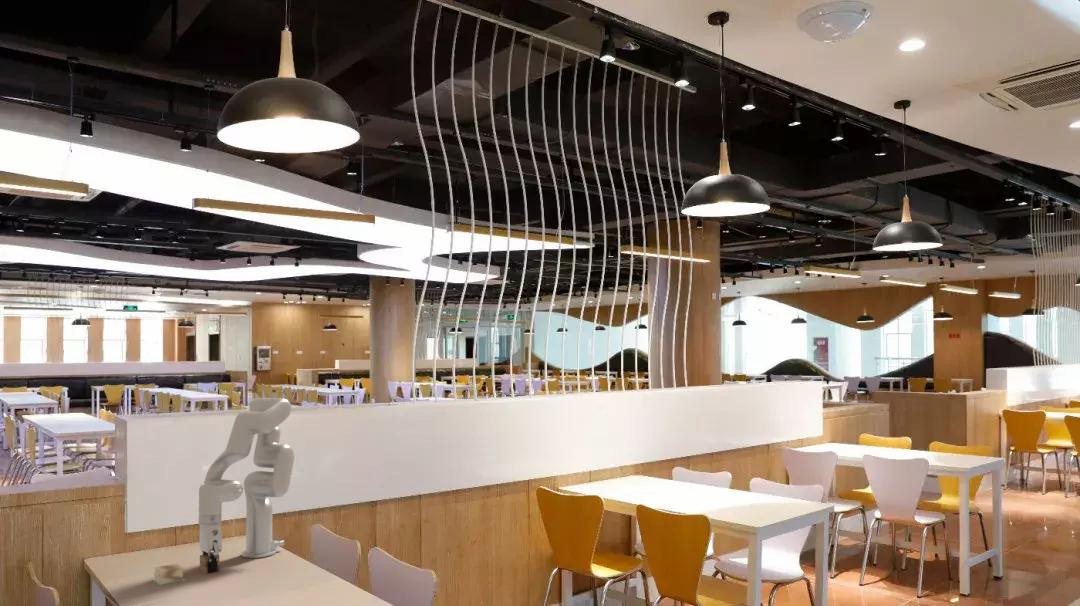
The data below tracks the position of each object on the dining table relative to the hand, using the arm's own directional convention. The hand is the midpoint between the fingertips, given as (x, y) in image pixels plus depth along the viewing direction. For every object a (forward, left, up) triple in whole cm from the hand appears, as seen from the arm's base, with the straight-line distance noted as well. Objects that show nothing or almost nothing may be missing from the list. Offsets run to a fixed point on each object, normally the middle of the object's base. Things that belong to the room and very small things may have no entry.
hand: (209, 570), depth 276 cm
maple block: (+14, +1, 0) cm, 14 cm away
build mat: (+14, +1, -1) cm, 14 cm away
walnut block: (0, 0, -1) cm, 1 cm away
